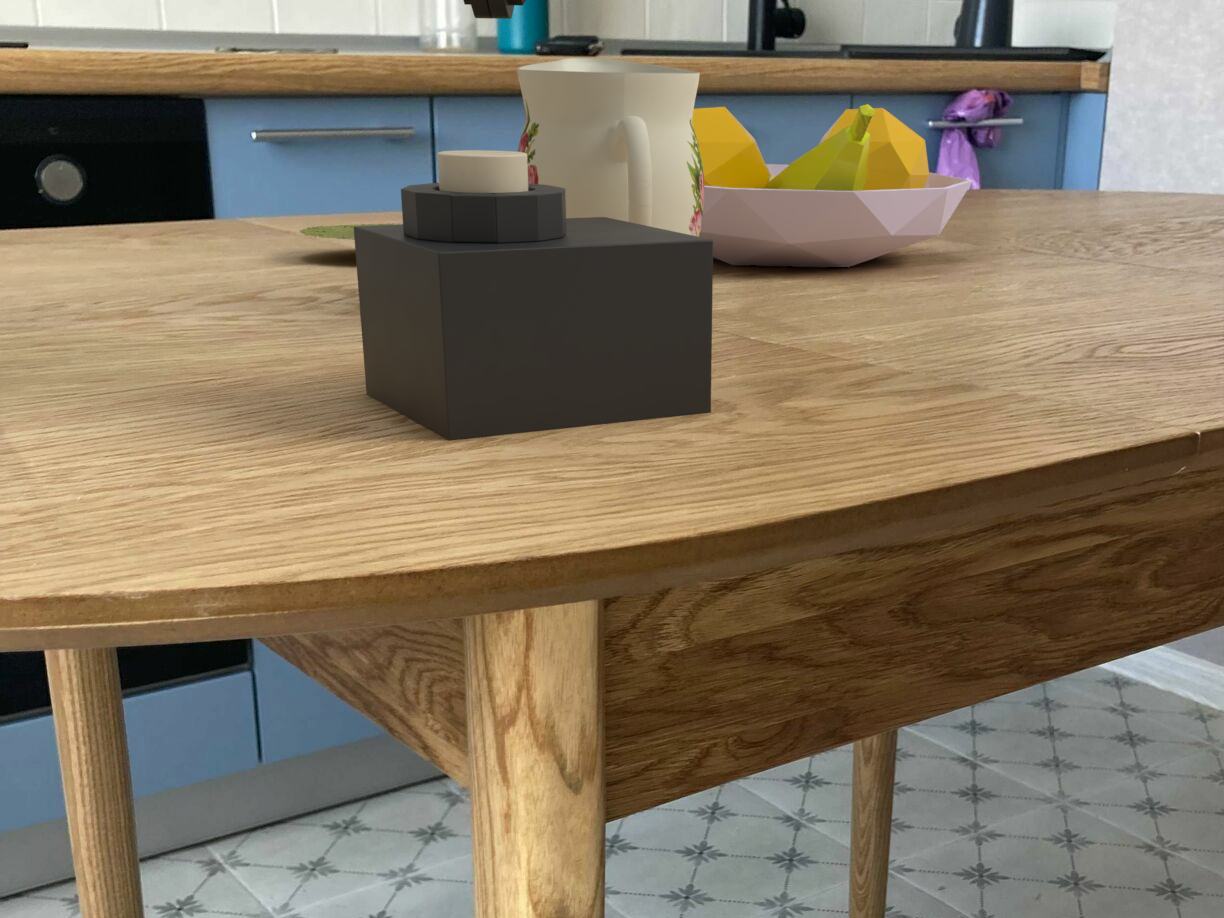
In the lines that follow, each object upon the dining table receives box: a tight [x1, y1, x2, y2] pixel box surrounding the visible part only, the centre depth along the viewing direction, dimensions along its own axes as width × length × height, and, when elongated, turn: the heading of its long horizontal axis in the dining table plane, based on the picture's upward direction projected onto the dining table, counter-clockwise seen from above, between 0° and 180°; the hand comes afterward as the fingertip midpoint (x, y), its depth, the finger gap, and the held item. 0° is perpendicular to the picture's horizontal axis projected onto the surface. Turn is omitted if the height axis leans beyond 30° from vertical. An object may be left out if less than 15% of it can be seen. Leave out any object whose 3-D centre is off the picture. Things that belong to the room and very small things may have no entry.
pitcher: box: [516, 57, 704, 237], centre depth 89 cm, size 11×18×14 cm, turn 14°
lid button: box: [437, 149, 528, 193], centre depth 63 cm, size 4×4×2 cm
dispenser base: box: [354, 182, 714, 442], centre depth 66 cm, size 12×10×9 cm
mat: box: [299, 223, 401, 241], centre depth 113 cm, size 11×11×2 cm
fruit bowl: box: [692, 103, 974, 268], centre depth 115 cm, size 28×27×11 cm
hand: (488, 1), depth 62 cm, fingers closed
